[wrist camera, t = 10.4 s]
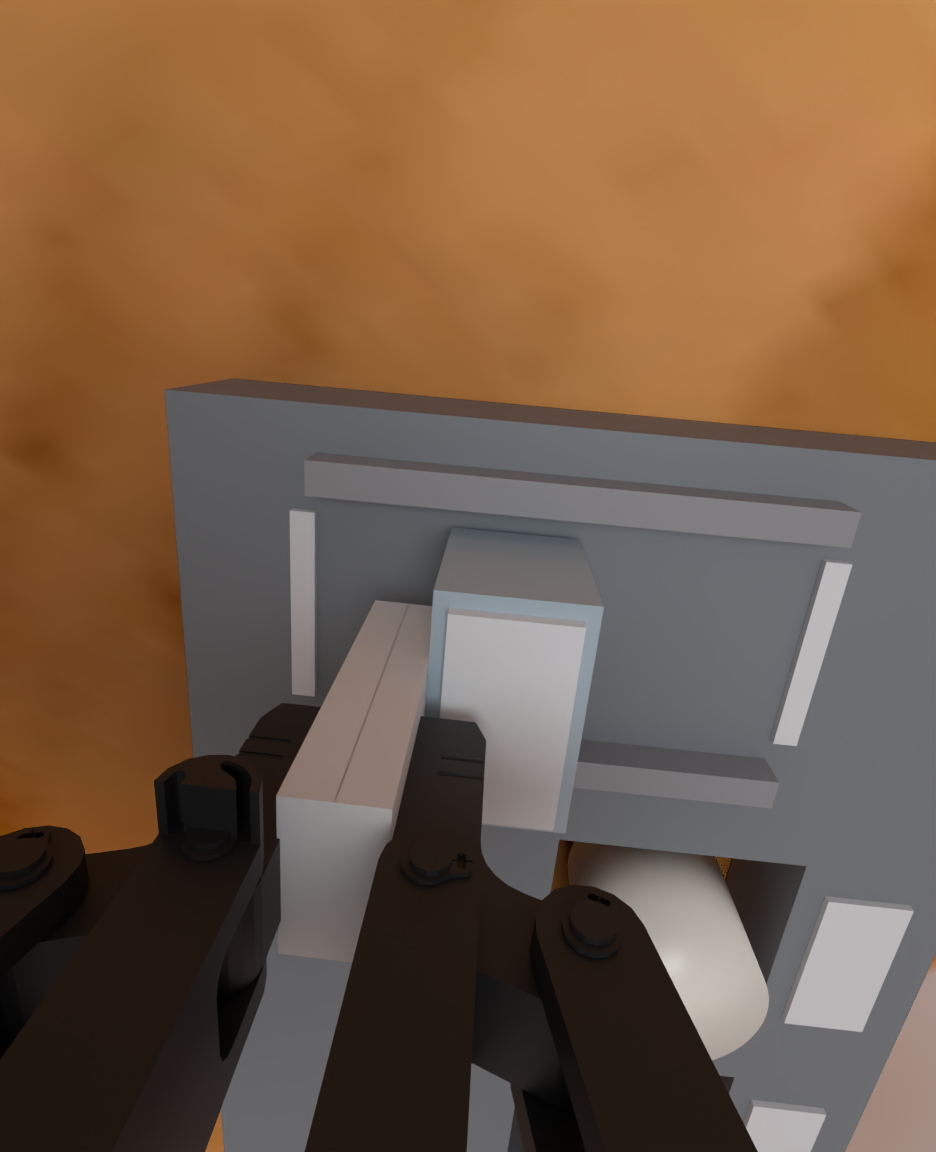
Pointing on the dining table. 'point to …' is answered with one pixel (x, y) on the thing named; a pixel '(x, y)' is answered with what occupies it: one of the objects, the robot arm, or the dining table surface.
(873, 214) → the dining table surface
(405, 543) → the console
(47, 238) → the dining table surface
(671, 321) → the dining table surface
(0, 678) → the dining table surface
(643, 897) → the button ivory
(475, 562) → the slider knob
